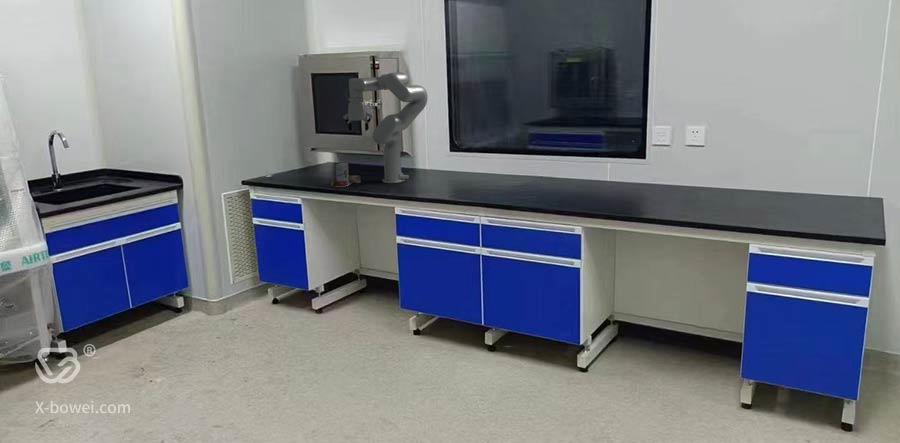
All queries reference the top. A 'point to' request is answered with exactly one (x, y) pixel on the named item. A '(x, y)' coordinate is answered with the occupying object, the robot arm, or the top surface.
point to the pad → (344, 186)
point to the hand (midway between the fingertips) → (358, 130)
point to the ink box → (342, 174)
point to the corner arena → (351, 180)
